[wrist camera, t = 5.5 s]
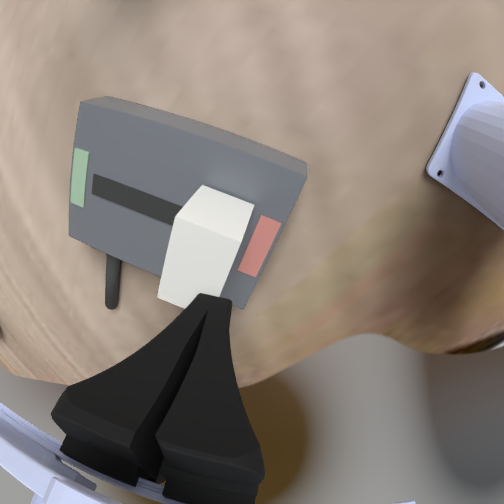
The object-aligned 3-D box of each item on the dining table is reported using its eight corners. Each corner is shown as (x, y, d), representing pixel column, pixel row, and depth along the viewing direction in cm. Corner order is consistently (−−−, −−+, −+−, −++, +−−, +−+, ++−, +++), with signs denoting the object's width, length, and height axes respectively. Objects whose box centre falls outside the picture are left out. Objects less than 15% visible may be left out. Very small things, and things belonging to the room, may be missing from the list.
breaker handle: (254, 204, 16) (241, 242, 13) (226, 274, 19) (210, 318, 15) (202, 184, 16) (175, 216, 12) (181, 256, 18) (157, 297, 15)
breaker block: (306, 162, 17) (307, 177, 15) (249, 282, 23) (242, 310, 20) (107, 96, 17) (79, 101, 14) (89, 217, 22) (68, 236, 19)
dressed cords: (222, 265, 22) (218, 274, 21) (195, 338, 27) (191, 347, 26) (114, 221, 22) (106, 228, 21) (108, 300, 27) (103, 308, 26)
